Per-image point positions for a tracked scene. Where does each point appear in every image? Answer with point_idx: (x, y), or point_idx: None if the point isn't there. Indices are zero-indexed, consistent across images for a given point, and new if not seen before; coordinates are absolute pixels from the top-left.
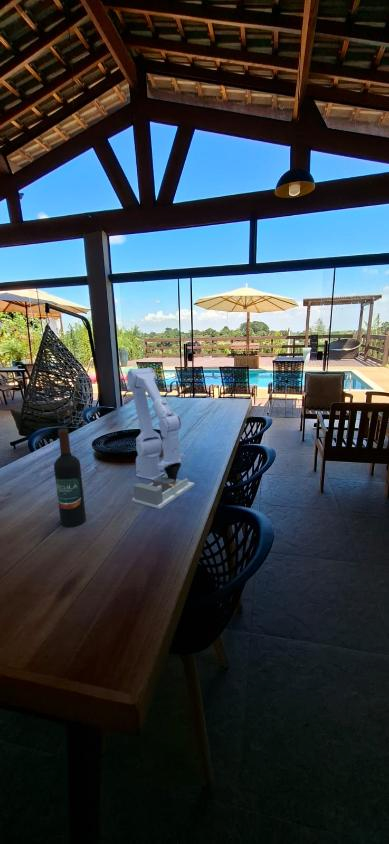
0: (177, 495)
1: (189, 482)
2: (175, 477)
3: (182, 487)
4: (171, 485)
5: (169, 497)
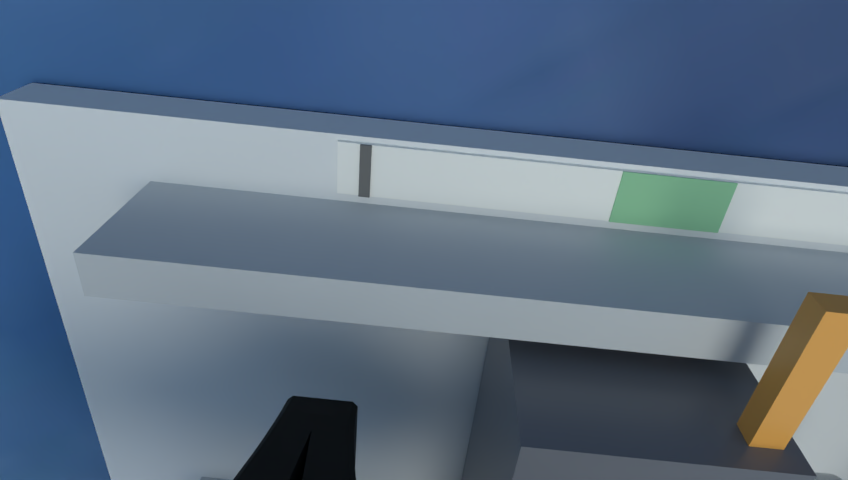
0: (644, 156)
1: (56, 198)
2: (290, 473)
3: (354, 209)
4: (814, 384)
5: (846, 231)
